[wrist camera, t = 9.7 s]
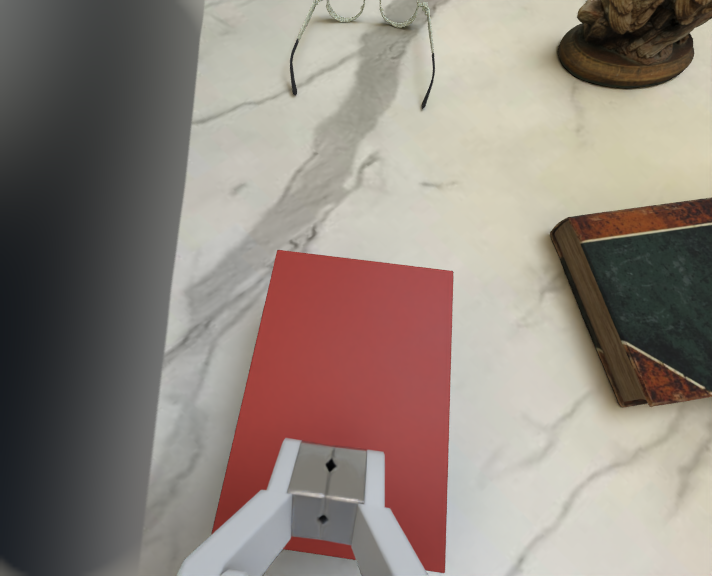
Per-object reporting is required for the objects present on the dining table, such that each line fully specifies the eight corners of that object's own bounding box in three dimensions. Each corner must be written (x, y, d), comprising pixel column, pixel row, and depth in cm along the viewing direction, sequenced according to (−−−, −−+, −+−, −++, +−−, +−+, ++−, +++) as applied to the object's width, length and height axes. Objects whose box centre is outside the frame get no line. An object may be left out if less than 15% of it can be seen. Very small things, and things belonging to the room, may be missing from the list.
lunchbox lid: (279, 254, 25) (277, 249, 24) (450, 275, 24) (453, 270, 23) (215, 533, 19) (209, 538, 18) (441, 567, 18) (445, 574, 18)
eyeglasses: (434, 27, 45) (444, -18, 40) (428, 111, 40) (439, 71, 35) (310, 15, 46) (305, -31, 41) (288, 96, 40) (280, 55, 36)
